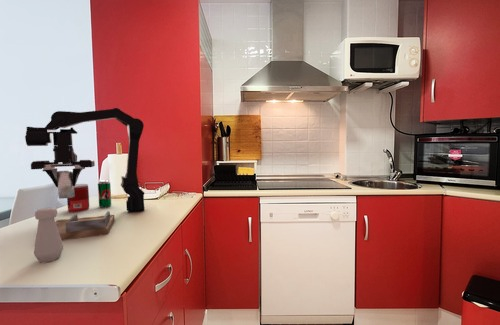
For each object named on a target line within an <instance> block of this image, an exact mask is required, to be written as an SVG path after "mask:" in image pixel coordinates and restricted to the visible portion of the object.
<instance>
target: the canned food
mask: <svg viewBox="0 0 500 325" xmlns="http://www.w3.org/2000/svg"><path fill="white" fill-rule="evenodd" d="M74 192H75V197H71V198H66V202H67V210H68V211H69V212H70V213H76V212H83V211H87V210H90V196H89V195H90V194H89V184H87V183H76V185H75V186H74Z"/></svg>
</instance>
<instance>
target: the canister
mask: <svg viewBox="0 0 500 325" xmlns="http://www.w3.org/2000/svg"><path fill="white" fill-rule="evenodd" d="M57 183H58V187H57V194H58V195H57V196H58V199H59V200H60V199H67V198H71V197H75V192H74V186H73V169H72V170H70V169H69V170H67V169H66V170H57Z"/></svg>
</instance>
